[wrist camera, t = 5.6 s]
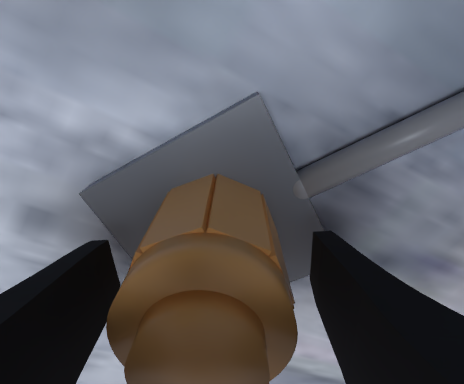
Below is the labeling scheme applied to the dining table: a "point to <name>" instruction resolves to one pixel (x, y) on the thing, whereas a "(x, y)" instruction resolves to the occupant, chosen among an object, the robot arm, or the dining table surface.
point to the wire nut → (206, 292)
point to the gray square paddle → (256, 171)
